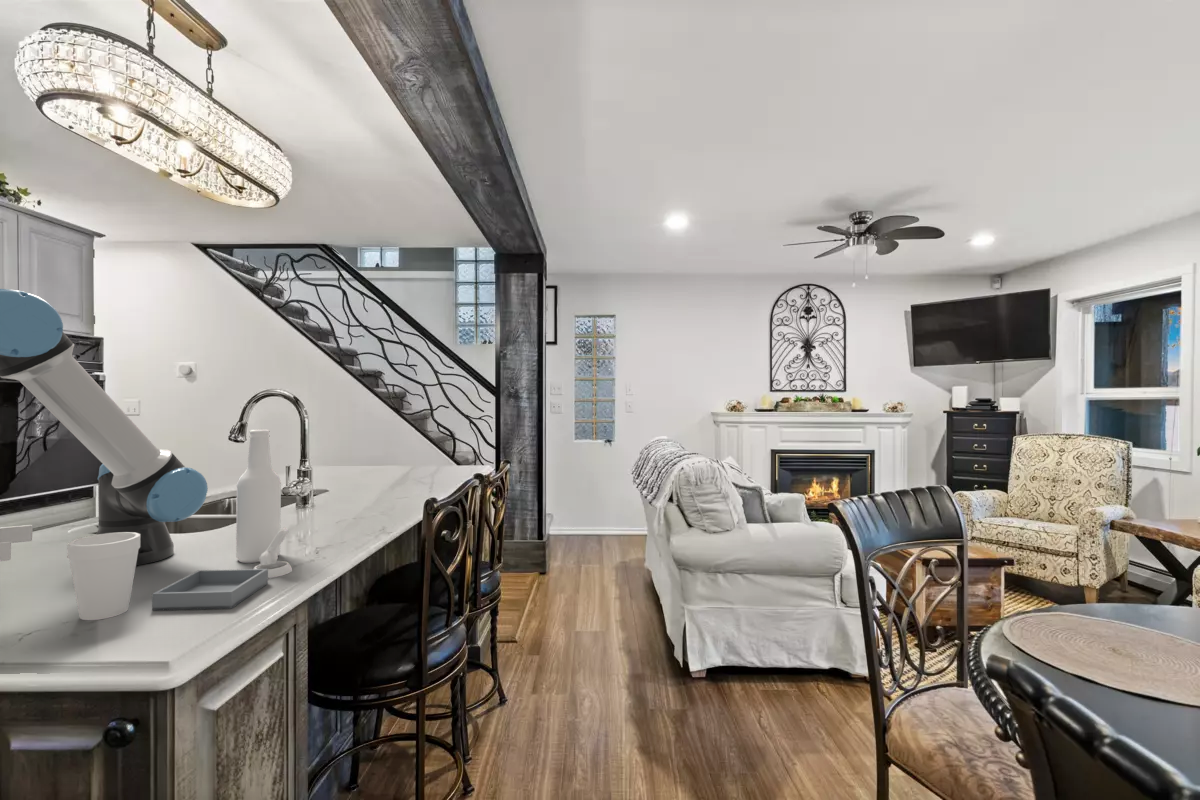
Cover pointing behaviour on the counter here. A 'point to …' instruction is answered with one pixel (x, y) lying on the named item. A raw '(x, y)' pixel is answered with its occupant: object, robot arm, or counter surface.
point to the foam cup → (103, 573)
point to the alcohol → (257, 501)
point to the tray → (210, 589)
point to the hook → (274, 557)
